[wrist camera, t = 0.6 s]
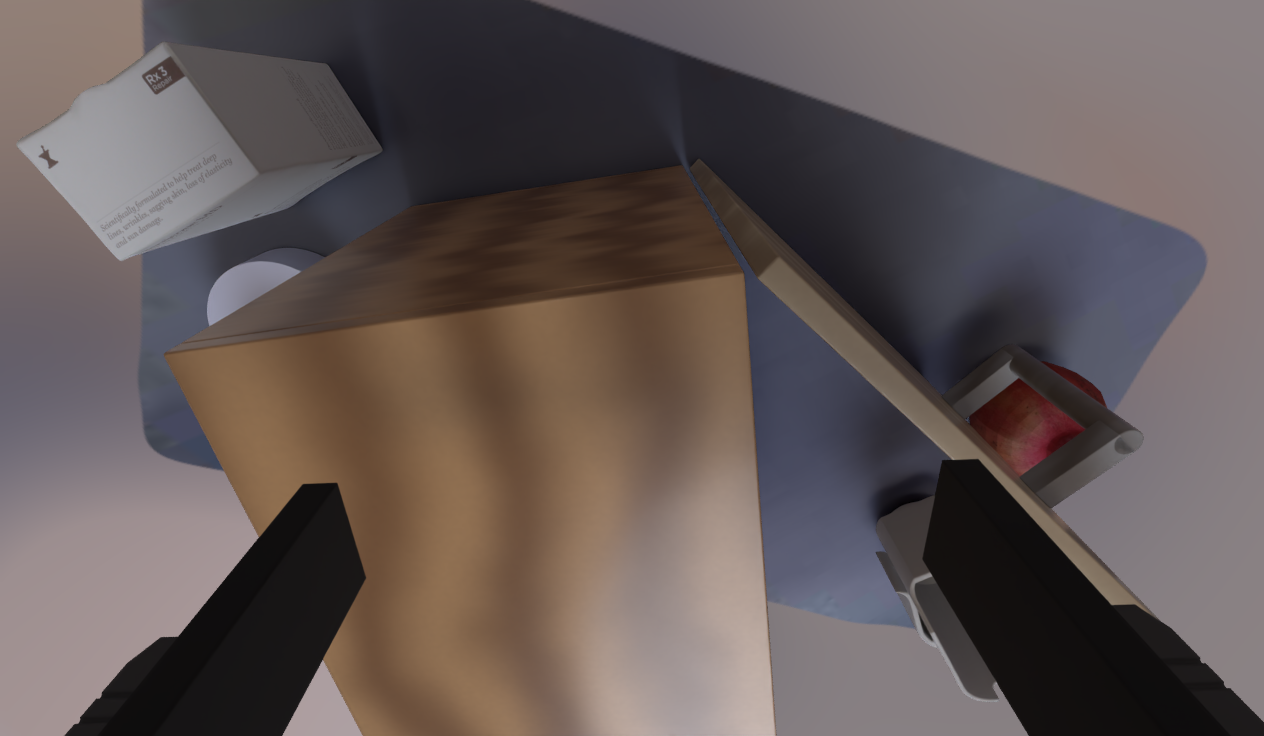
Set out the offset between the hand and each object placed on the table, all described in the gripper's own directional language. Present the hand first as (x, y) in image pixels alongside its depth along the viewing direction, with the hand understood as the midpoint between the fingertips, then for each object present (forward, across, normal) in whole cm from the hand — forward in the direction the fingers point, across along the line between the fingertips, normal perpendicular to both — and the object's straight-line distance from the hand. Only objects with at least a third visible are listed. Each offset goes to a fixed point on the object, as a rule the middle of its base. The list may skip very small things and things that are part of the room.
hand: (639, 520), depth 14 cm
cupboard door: (+30, +14, -2) cm, 33 cm away
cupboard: (+30, -4, -9) cm, 32 cm away
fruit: (+30, +27, -14) cm, 43 cm away
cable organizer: (+30, +22, -26) cm, 46 cm away
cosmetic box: (+30, -20, +7) cm, 37 cm away
